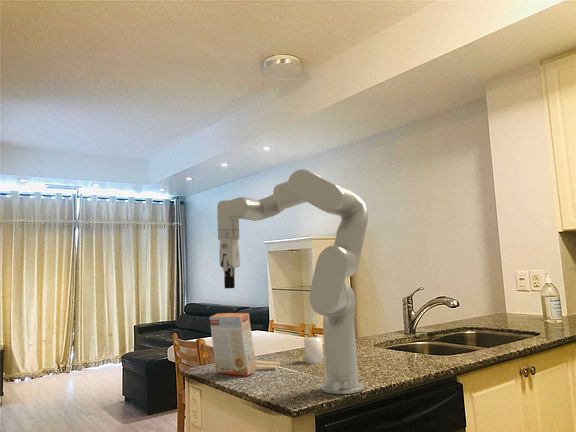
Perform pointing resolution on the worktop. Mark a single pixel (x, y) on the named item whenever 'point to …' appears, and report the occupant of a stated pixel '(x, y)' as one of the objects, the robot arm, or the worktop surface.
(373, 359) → the worktop surface
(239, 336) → the cracker box
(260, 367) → the cork board
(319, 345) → the white rounded block
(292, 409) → the worktop surface
